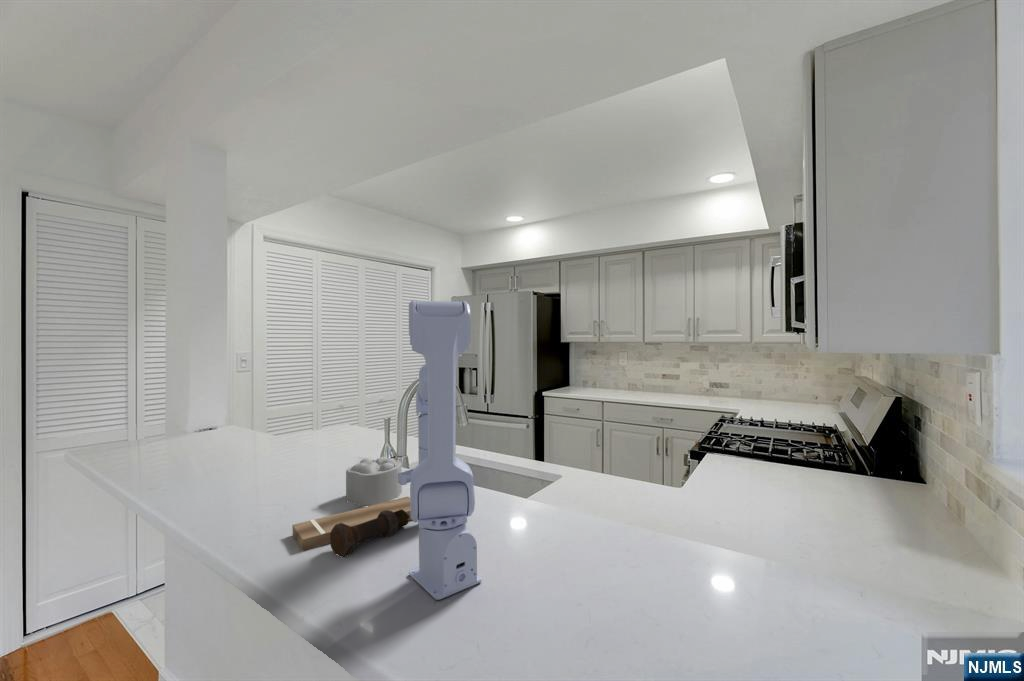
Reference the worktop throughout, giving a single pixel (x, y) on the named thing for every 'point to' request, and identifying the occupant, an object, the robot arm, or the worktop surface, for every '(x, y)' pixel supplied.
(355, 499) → the lumpy-topped squat cylinder
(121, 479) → the worktop surface
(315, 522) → the walnut board
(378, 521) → the bolt
